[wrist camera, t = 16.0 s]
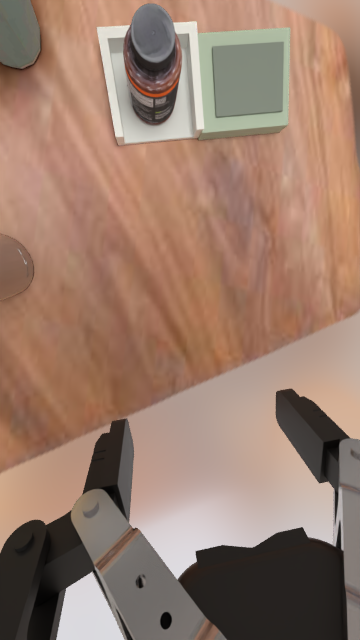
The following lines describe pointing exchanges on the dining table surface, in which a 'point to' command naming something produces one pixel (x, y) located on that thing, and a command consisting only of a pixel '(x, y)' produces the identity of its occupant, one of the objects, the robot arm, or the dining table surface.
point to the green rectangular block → (244, 82)
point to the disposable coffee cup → (18, 33)
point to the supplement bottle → (152, 64)
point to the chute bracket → (189, 95)
